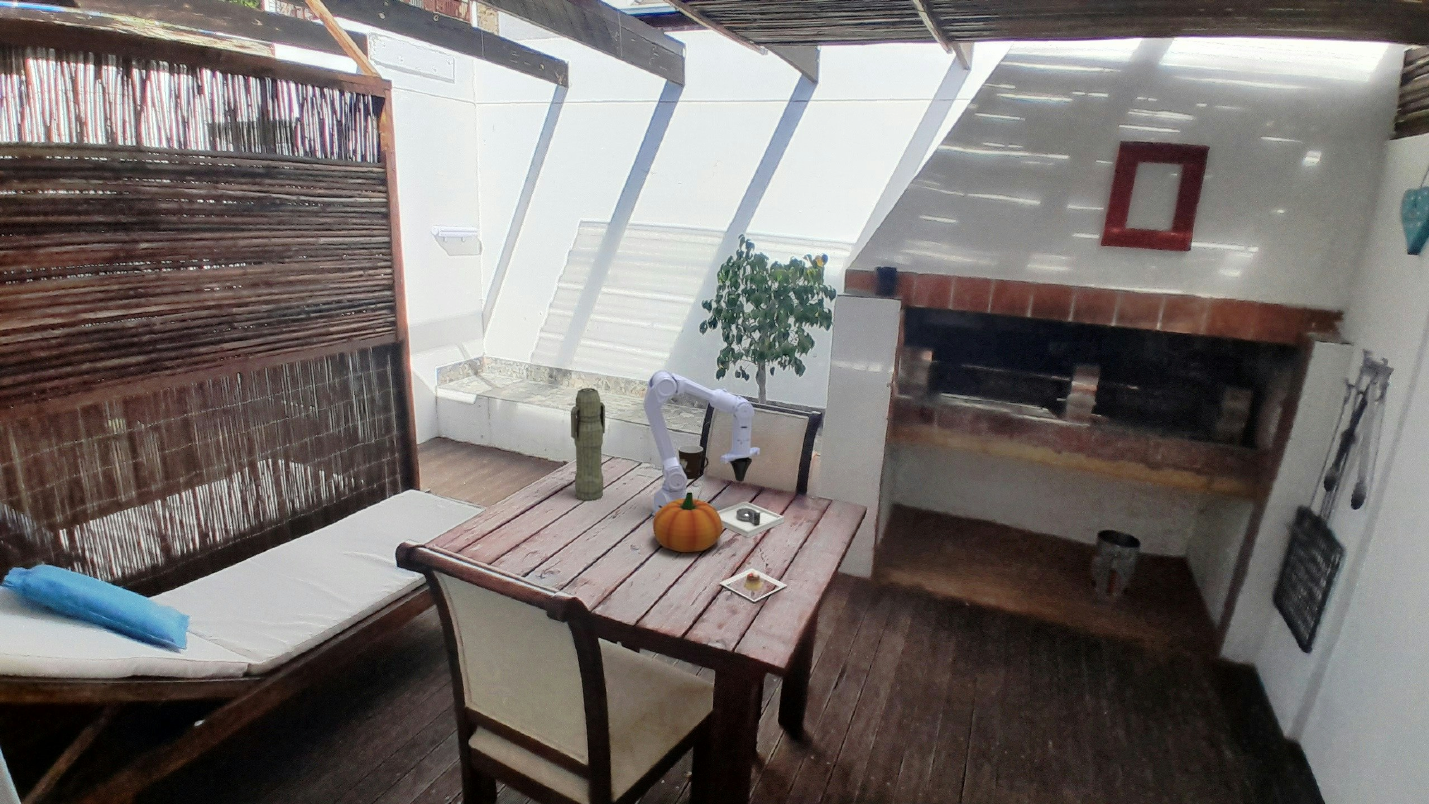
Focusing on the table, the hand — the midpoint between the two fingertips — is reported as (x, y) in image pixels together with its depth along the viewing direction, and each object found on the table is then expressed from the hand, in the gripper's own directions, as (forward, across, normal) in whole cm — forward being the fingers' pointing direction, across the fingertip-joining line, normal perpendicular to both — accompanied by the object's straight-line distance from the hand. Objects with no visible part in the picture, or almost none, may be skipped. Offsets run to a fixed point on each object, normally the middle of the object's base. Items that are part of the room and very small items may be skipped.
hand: (739, 480), depth 220 cm
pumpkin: (+10, +27, +7) cm, 30 cm away
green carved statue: (+10, +30, -38) cm, 50 cm away
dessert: (+11, +30, +36) cm, 48 cm away
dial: (+8, +4, +9) cm, 13 cm away
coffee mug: (+10, -7, -31) cm, 34 cm away
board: (+10, +4, +7) cm, 13 cm away
